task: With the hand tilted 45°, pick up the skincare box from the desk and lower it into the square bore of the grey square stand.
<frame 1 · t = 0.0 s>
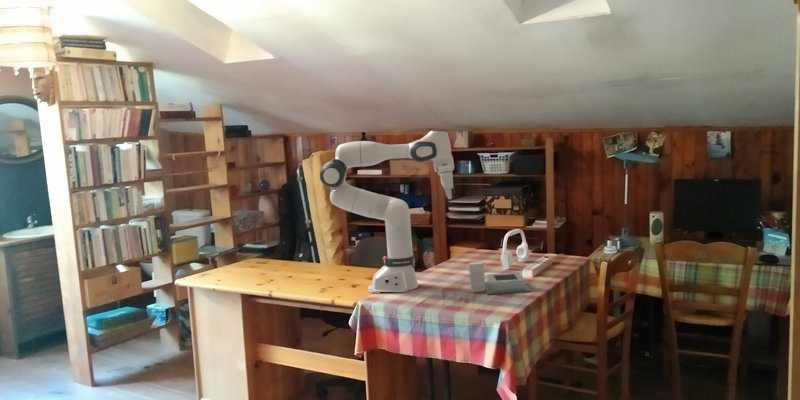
hand: (448, 197, 283), 39 cm above the table, tool pointing down, fingers open, 8 cm apart
headset: (515, 266, 313), on the table
skincare box: (477, 291, 274), on the table
grey square stand: (506, 287, 275), on the table
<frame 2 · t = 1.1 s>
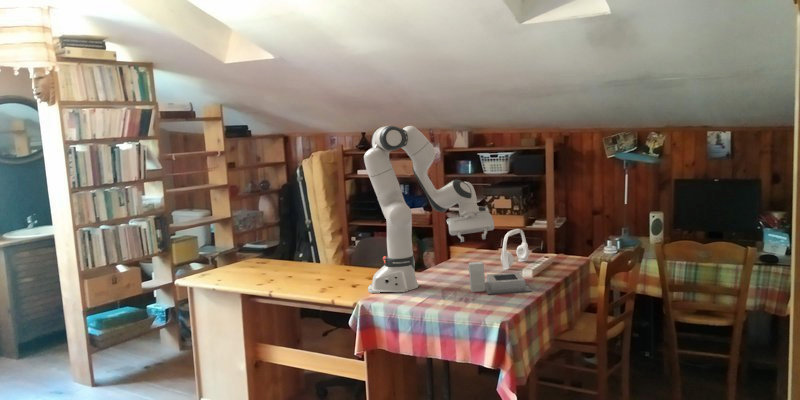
hand: (473, 239, 284), 20 cm above the table, tool tilted 45°, fingers open, 8 cm apart
nothing on the table moved.
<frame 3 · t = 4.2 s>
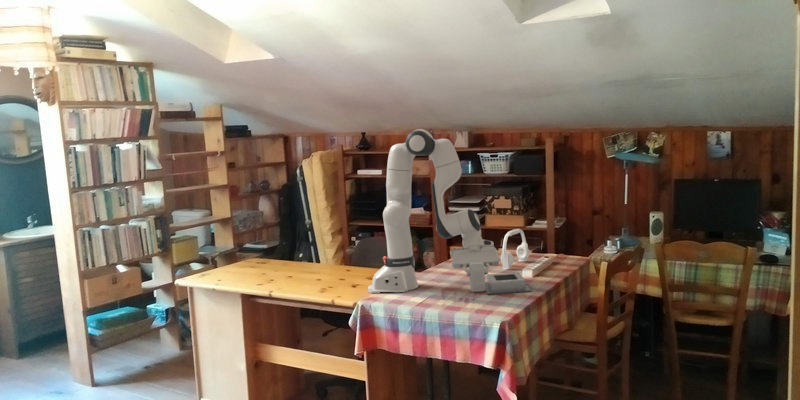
hand: (477, 274, 273), 7 cm above the table, tool tilted 45°, fingers closed on skincare box, 6 cm apart
skincare box: (477, 290, 274), on the table, touching gripper
everything else where it was.
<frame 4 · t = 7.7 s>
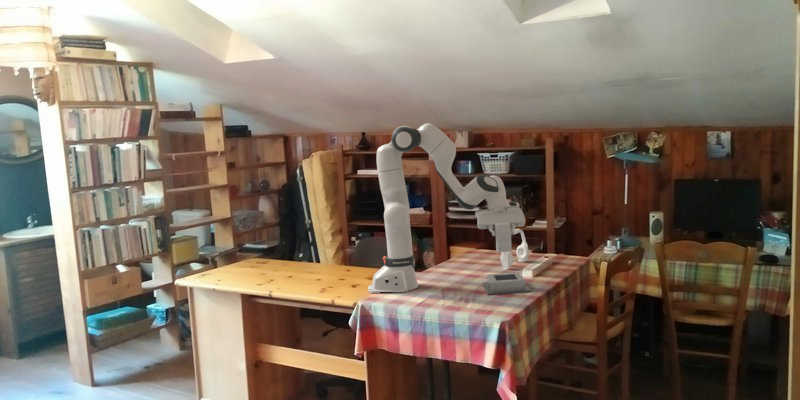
hand: (503, 234, 272), 23 cm above the table, tool tilted 45°, fingers closed on skincare box, 6 cm apart
skincare box: (503, 251, 273), point 16 cm above the table, touching gripper
everything else where it was.
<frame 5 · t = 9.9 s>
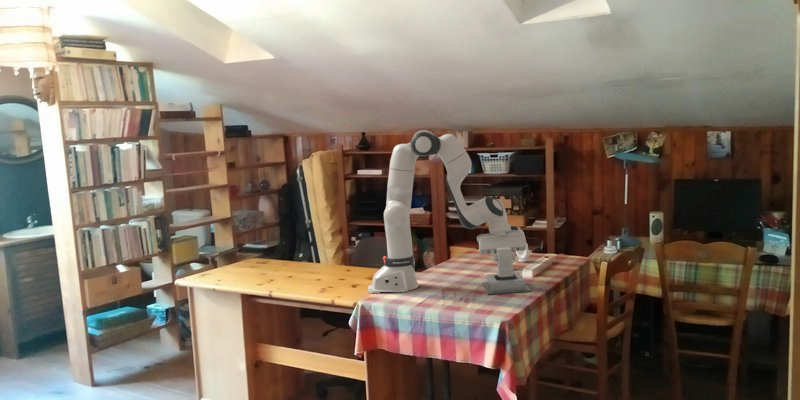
hand: (504, 259, 273), 12 cm above the table, tool tilted 45°, fingers closed on skincare box, 6 cm apart
skincare box: (505, 276, 275), point 5 cm above the table, touching gripper
everything else where it was.
when the fingers open (9 cm above the table, at t = 11.4 s): skincare box stays where it is, resting on grey square stand.
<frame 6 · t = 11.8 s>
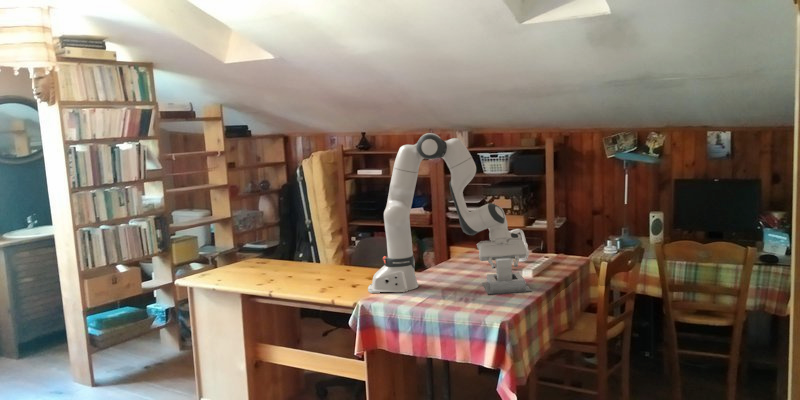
hand: (505, 266, 274), 9 cm above the table, tool tilted 45°, fingers open, 8 cm apart
skincare box: (504, 287, 275), resting on grey square stand
everything else where it was.
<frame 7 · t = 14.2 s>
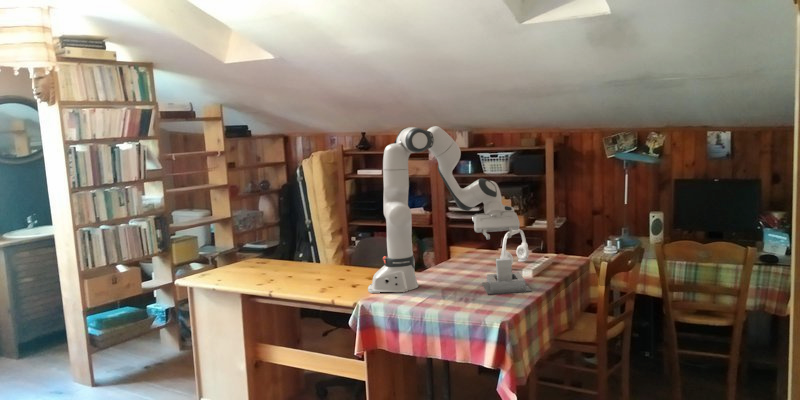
hand: (498, 237, 285), 19 cm above the table, tool tilted 45°, fingers open, 8 cm apart
nothing on the table moved.
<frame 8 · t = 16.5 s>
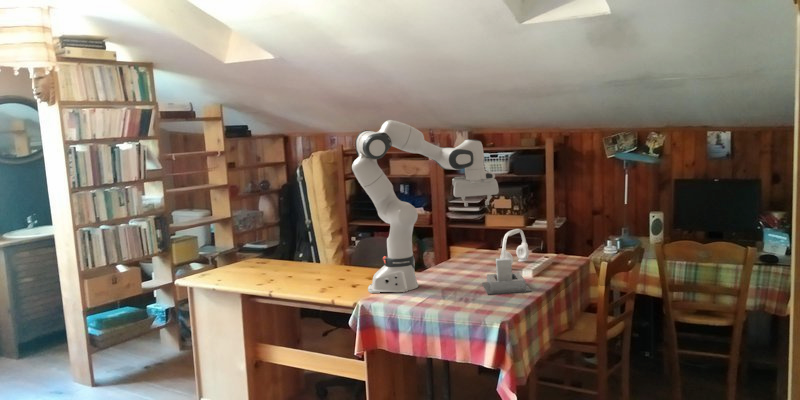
hand: (476, 205, 292), 33 cm above the table, tool pointing down, fingers open, 8 cm apart
nothing on the table moved.
at the end: skincare box 0.5 cm off-centre on the grey square stand, point 0.4 cm above the grey square stand's base; skincare box tilted 0°; the gripper is holding nothing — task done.
